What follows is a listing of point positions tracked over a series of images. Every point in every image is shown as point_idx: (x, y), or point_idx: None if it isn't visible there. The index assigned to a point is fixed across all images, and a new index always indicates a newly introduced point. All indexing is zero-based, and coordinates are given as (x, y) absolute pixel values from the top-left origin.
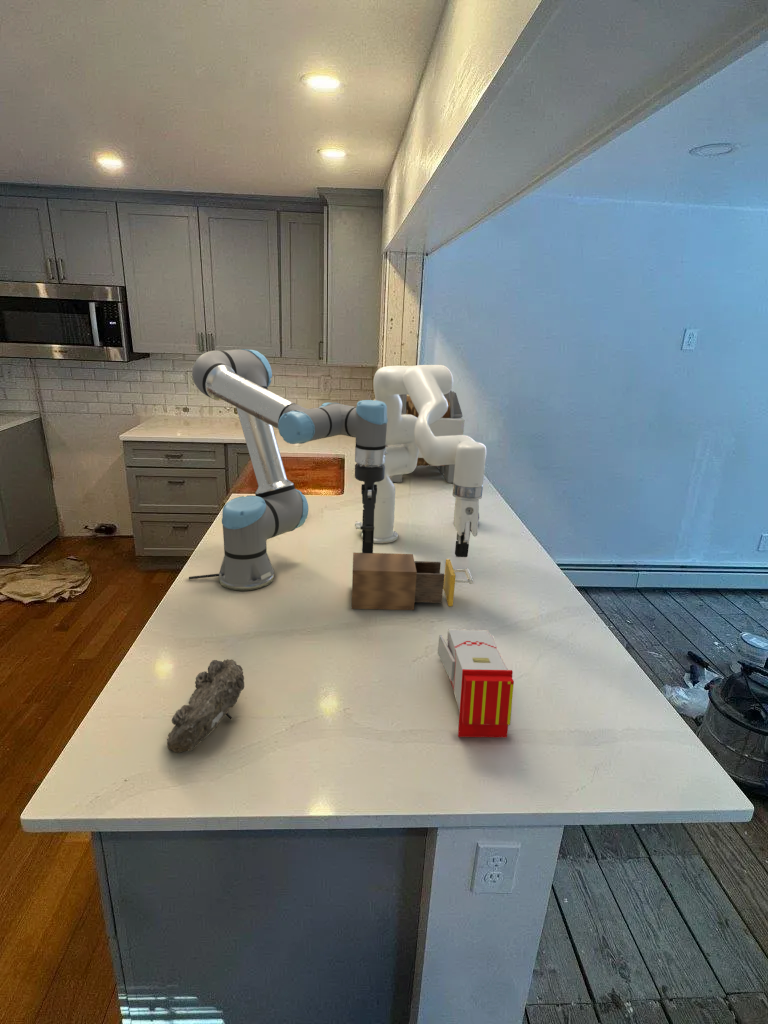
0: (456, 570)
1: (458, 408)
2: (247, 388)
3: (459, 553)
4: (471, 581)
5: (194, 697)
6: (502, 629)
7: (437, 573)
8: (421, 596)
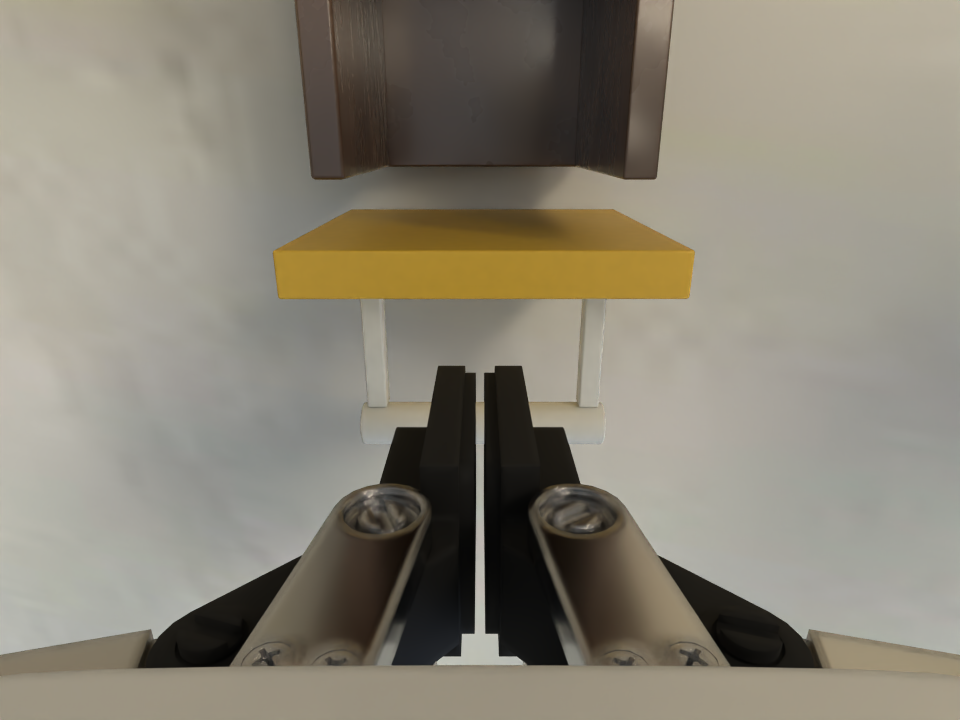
0: (583, 334)
1: None
2: None
3: (399, 429)
4: (363, 426)
5: None
6: (176, 478)
7: (333, 97)
8: None
